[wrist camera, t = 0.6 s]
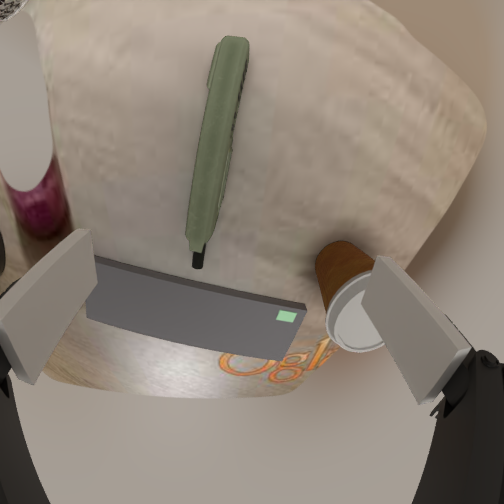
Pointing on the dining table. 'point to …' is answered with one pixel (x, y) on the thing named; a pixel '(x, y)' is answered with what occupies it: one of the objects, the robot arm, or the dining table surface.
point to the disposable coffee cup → (346, 296)
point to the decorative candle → (10, 8)
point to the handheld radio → (215, 142)
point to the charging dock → (192, 311)
